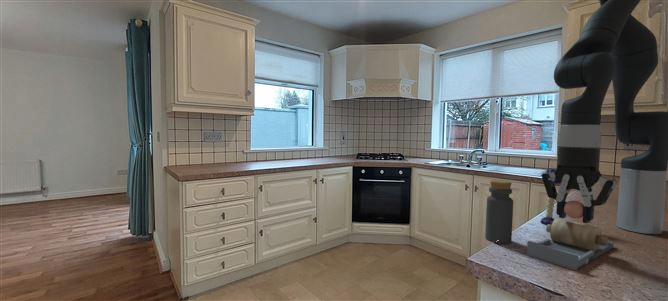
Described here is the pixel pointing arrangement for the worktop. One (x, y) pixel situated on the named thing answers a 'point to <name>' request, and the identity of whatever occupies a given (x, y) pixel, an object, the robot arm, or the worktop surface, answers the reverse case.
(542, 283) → the worktop surface
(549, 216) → the toy lamp
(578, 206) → the ball
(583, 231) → the maple rolling pin
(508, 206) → the bottle
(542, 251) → the grey long tray
